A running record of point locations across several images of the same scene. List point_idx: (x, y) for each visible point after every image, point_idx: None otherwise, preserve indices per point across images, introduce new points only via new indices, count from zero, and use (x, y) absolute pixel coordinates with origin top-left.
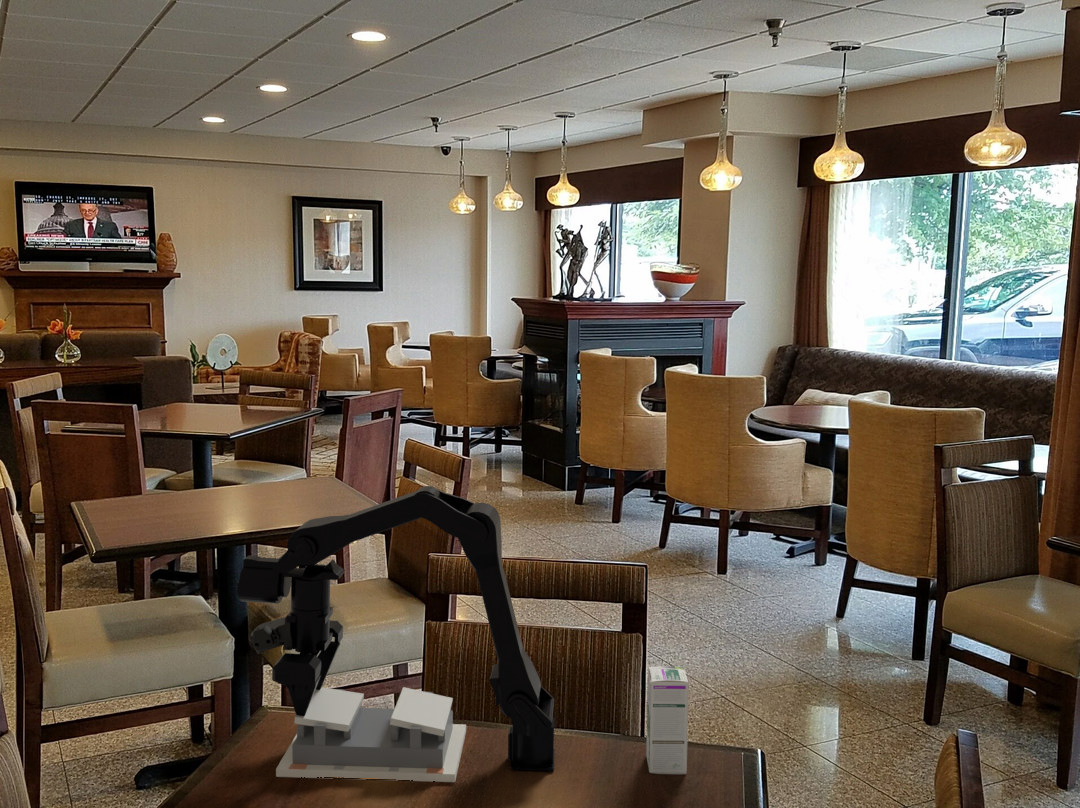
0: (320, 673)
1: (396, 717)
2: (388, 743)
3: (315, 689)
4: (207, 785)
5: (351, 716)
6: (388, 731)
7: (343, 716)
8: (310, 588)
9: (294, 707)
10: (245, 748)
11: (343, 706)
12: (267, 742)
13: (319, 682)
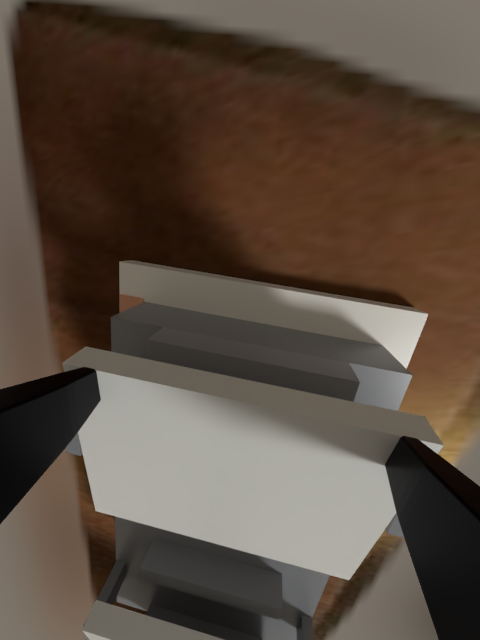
0: (449, 589)
1: (94, 637)
2: (134, 531)
3: (395, 448)
4: (76, 64)
5: (156, 524)
6: (195, 540)
7: (146, 507)
8: None
9: (26, 385)
10: (298, 132)
11: (224, 517)
12: (330, 202)
13: (405, 507)
